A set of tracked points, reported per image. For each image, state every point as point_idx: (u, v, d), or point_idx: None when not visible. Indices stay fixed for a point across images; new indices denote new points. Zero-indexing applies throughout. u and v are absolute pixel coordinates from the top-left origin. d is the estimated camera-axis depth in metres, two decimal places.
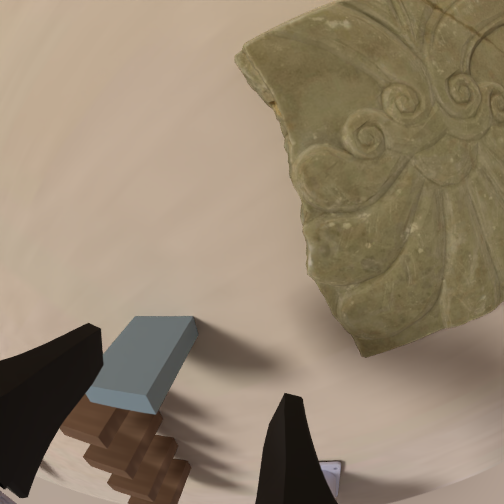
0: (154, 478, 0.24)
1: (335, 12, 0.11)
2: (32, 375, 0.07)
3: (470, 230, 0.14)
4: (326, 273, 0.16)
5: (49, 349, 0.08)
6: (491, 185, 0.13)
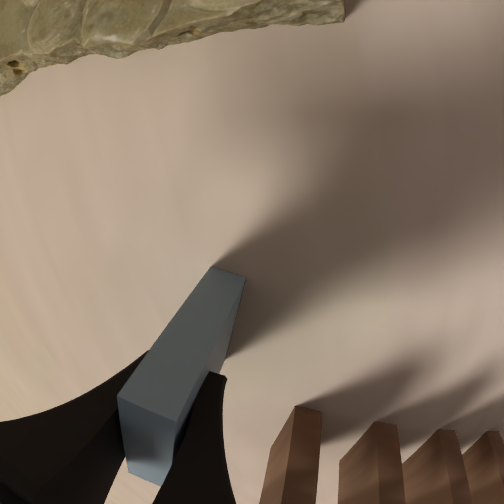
0: (451, 502, 0.10)
1: None
2: (108, 419, 0.07)
3: None
4: (134, 16, 0.08)
5: (118, 385, 0.08)
6: None
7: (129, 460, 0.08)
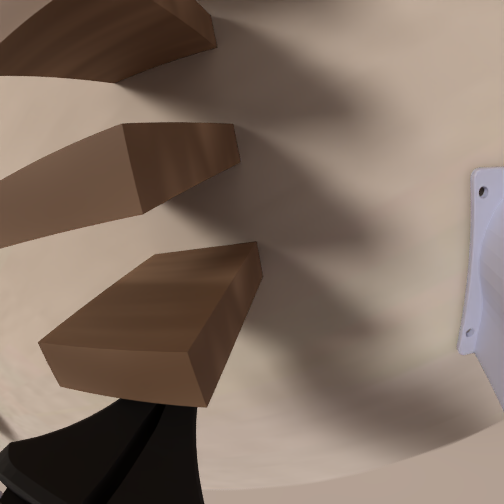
0: None
1: None
2: (135, 432, 0.07)
3: None
4: None
5: None
6: None
7: None
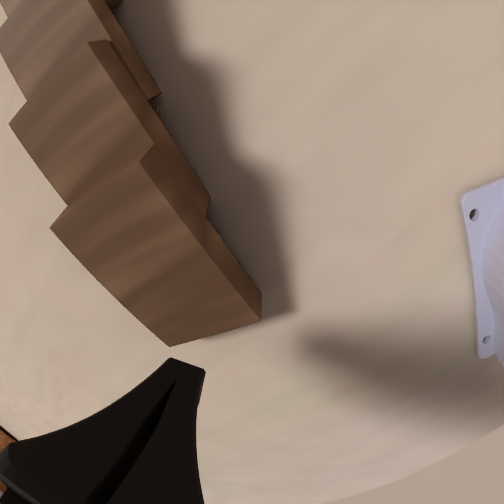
0: None
1: None
2: (135, 432, 0.07)
3: None
4: None
5: (142, 395, 0.08)
6: None
7: None
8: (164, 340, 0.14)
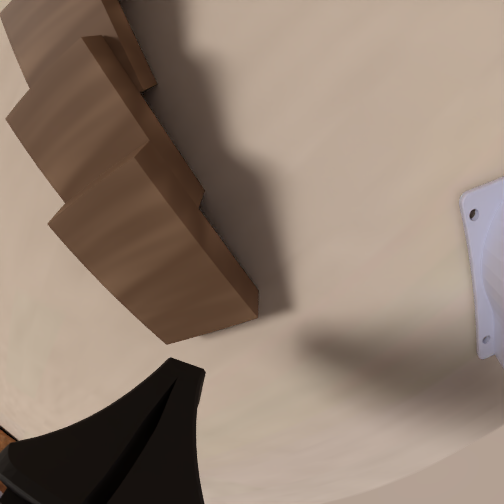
0: None
1: None
2: (135, 432, 0.07)
3: None
4: None
5: (142, 395, 0.08)
6: None
7: None
8: (161, 337, 0.14)
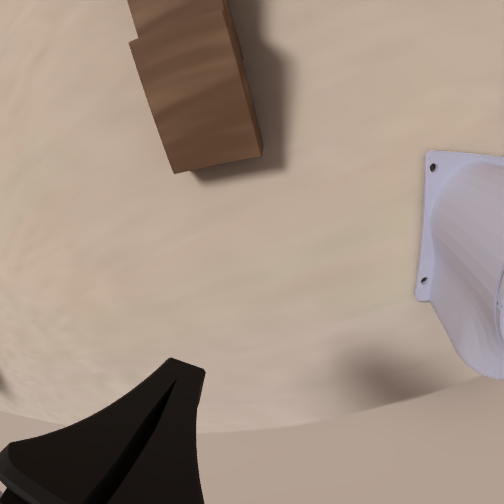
0: None
1: None
2: (135, 432, 0.07)
3: None
4: None
5: (142, 395, 0.08)
6: None
7: None
8: (173, 165, 0.17)
